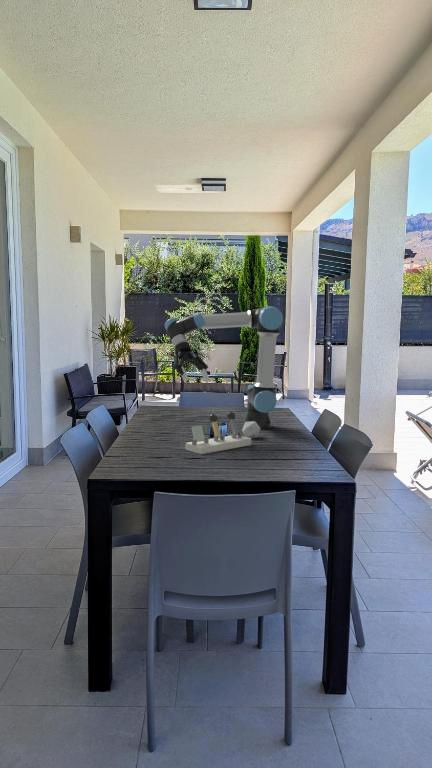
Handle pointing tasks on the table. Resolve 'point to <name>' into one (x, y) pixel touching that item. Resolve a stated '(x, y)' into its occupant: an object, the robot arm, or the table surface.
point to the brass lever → (215, 425)
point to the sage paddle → (198, 433)
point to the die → (251, 429)
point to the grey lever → (232, 422)
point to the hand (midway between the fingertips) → (197, 380)
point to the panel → (218, 443)
